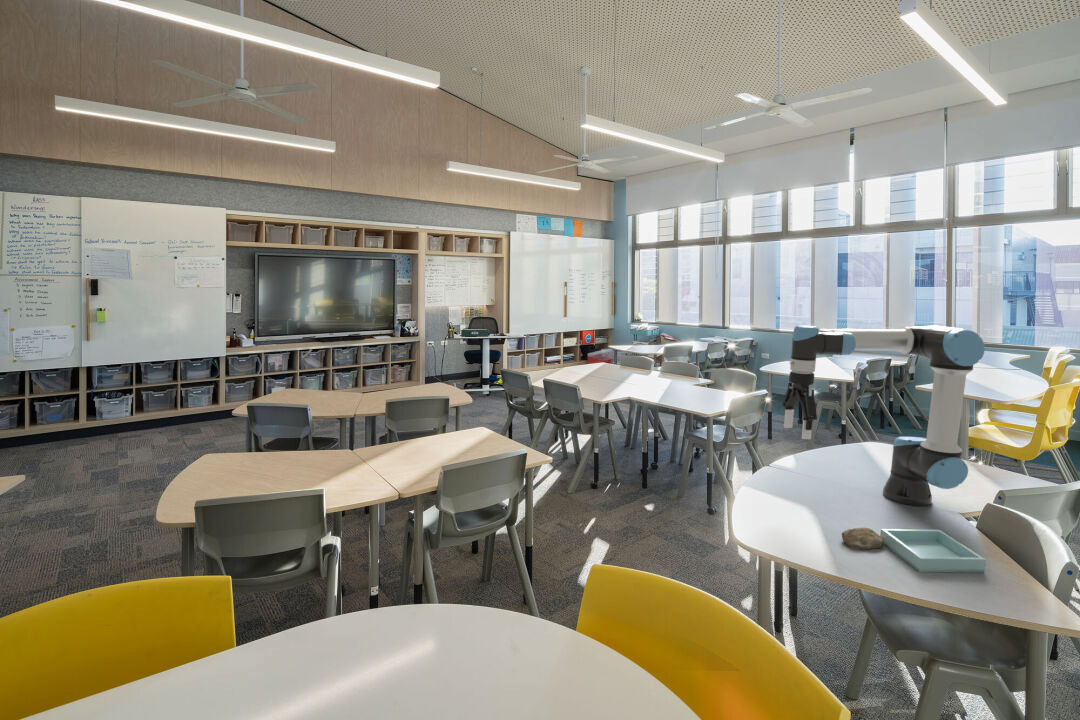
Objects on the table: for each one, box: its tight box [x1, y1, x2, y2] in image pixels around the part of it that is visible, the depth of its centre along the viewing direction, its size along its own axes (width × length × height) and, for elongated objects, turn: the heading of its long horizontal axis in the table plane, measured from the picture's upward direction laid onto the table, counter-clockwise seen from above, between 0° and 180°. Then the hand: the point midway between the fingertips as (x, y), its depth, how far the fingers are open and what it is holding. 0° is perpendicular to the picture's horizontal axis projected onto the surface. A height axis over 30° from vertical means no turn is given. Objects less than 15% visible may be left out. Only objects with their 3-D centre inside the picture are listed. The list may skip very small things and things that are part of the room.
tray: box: [879, 528, 987, 574], centre depth 161 cm, size 18×18×4 cm
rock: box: [841, 527, 884, 551], centre depth 168 cm, size 8×11×4 cm
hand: (796, 433), depth 188 cm, fingers open, 13 cm apart
